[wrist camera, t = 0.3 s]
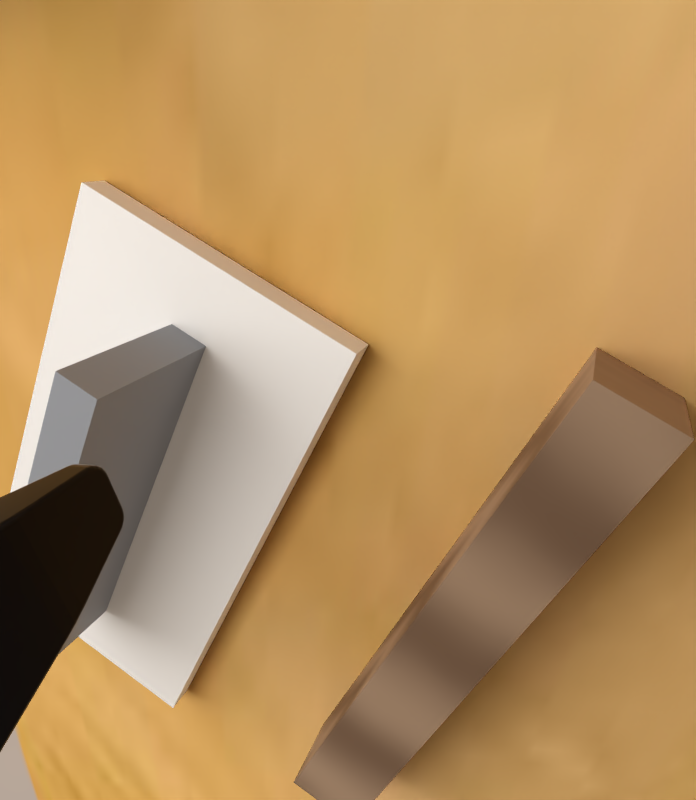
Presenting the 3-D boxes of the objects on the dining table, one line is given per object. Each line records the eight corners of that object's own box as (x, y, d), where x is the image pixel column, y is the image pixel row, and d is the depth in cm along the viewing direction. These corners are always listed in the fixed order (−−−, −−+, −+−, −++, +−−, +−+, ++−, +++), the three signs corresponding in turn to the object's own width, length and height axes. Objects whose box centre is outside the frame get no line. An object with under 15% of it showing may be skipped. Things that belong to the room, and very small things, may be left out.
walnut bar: (378, 757, 31) (351, 825, 28) (325, 719, 31) (293, 782, 28) (683, 394, 20) (694, 439, 17) (597, 344, 21) (592, 379, 18)
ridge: (187, 690, 34) (91, 810, 28) (10, 559, 35) (-116, 645, 29) (368, 344, 23) (278, 416, 17) (104, 180, 25) (-64, 193, 19)
